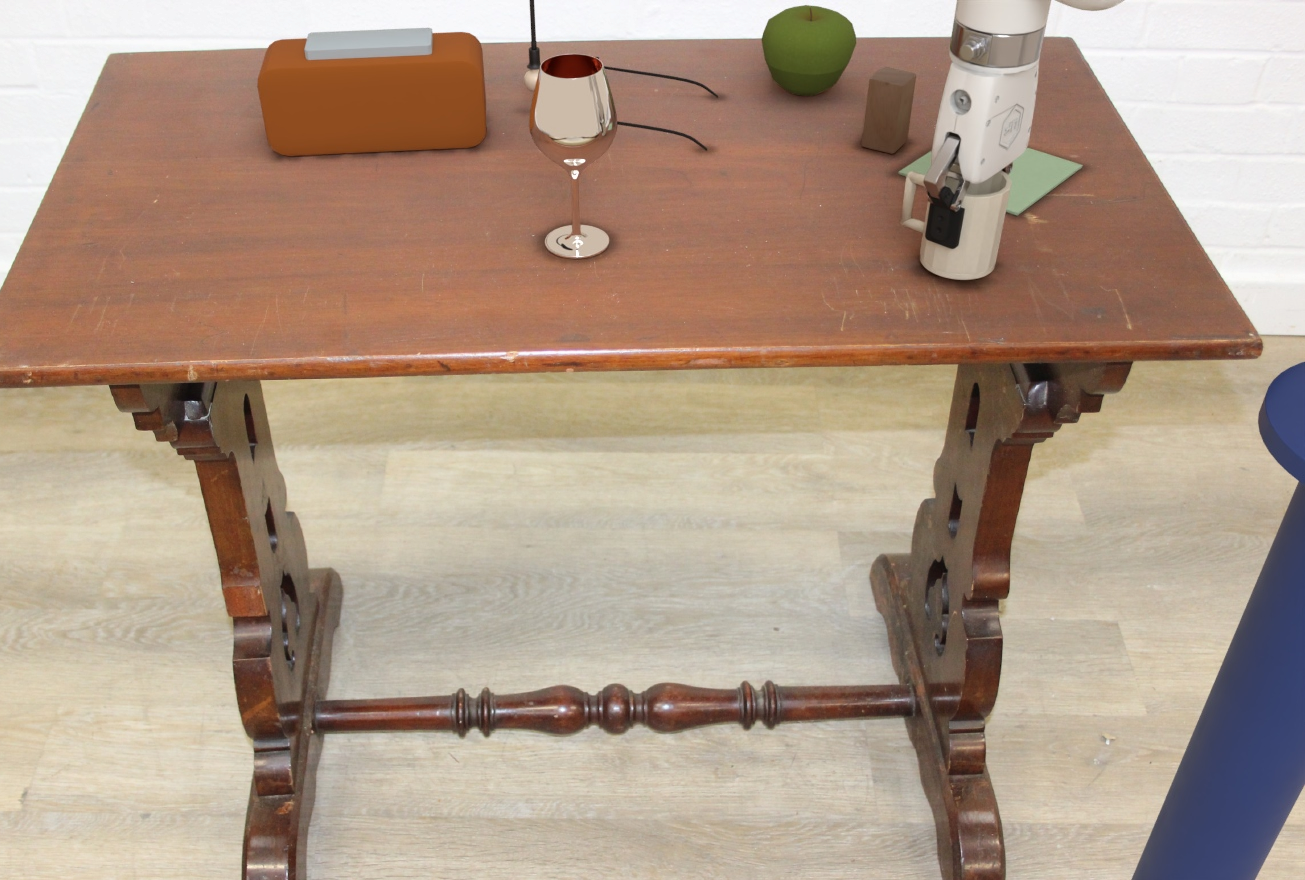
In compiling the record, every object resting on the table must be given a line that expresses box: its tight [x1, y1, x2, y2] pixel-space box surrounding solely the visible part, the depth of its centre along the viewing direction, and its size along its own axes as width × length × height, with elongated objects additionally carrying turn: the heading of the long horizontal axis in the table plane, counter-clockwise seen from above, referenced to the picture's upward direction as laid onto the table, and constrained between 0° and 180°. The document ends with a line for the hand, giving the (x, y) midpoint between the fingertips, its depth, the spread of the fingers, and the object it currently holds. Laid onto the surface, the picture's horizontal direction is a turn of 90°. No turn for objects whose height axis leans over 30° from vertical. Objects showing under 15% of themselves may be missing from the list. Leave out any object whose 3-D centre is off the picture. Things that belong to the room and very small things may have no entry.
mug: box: [899, 164, 1012, 281], centre depth 124 cm, size 10×7×8 cm
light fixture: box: [523, 0, 542, 92], centre depth 148 cm, size 7×7×25 cm
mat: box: [898, 147, 1084, 217], centre depth 142 cm, size 14×14×1 cm
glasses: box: [594, 56, 719, 151], centre depth 152 cm, size 14×15×5 cm
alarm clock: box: [257, 27, 487, 157], centre depth 147 cm, size 24×8×11 cm, turn 94°
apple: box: [761, 4, 857, 97], centre depth 155 cm, size 11×10×10 cm
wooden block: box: [861, 66, 917, 155], centre depth 144 cm, size 4×4×8 cm
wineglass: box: [528, 53, 618, 260], centre depth 126 cm, size 8×8×18 cm
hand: (963, 226), depth 124 cm, fingers closed on mug, 7 cm apart
